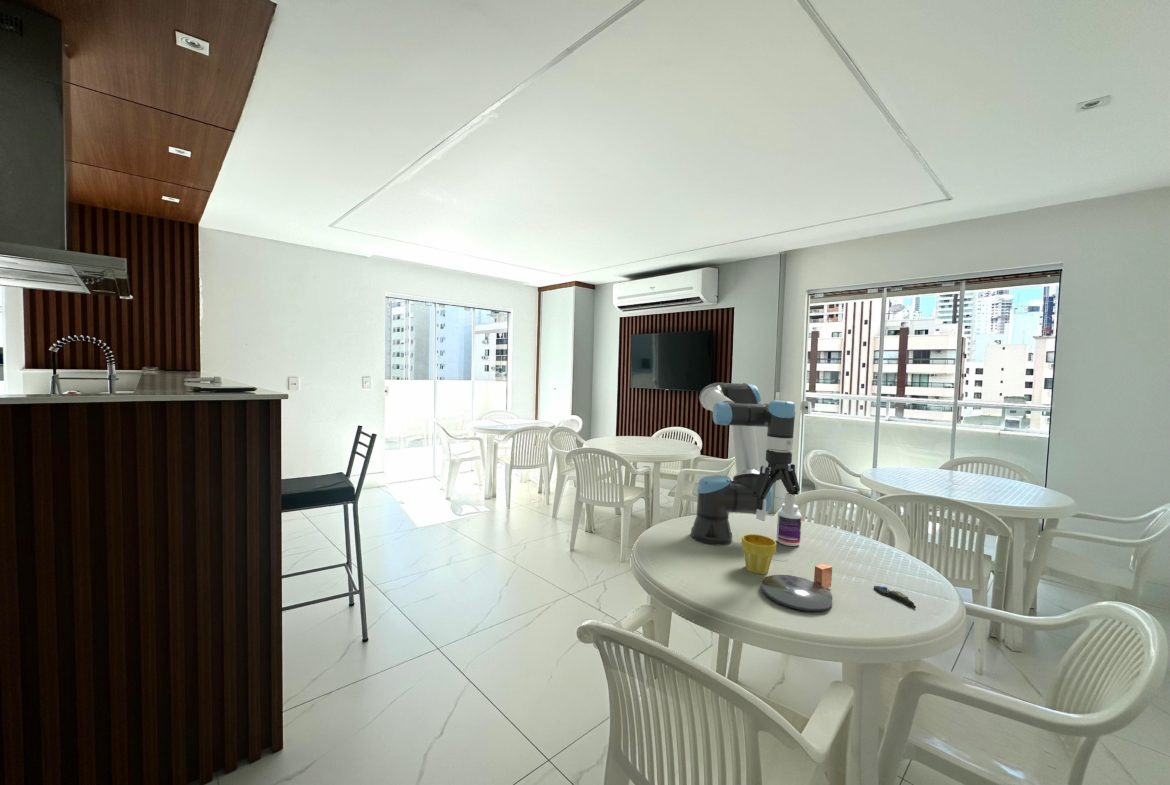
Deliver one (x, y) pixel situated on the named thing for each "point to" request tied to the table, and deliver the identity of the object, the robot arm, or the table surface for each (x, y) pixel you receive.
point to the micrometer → (895, 595)
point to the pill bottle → (789, 527)
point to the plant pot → (758, 552)
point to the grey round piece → (801, 590)
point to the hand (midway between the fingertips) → (774, 516)
